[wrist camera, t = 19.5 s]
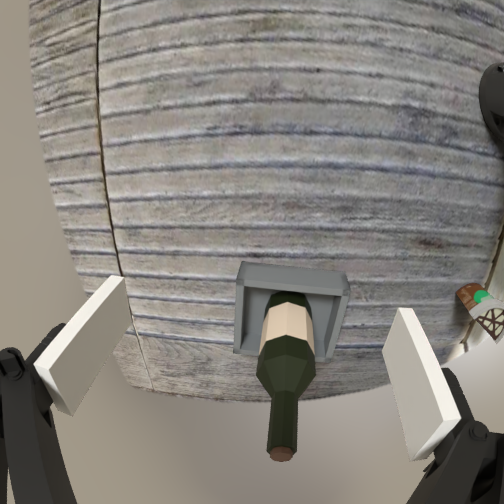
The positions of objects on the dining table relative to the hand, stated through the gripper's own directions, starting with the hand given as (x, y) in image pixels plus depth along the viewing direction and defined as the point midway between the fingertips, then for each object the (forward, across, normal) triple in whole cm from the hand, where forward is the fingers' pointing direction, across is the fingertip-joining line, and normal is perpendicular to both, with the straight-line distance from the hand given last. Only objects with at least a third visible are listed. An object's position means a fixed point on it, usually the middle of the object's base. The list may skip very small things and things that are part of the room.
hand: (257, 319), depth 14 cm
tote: (+37, +4, -24) cm, 44 cm away
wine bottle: (+36, +4, -24) cm, 43 cm away
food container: (+37, +43, -18) cm, 59 cm away
